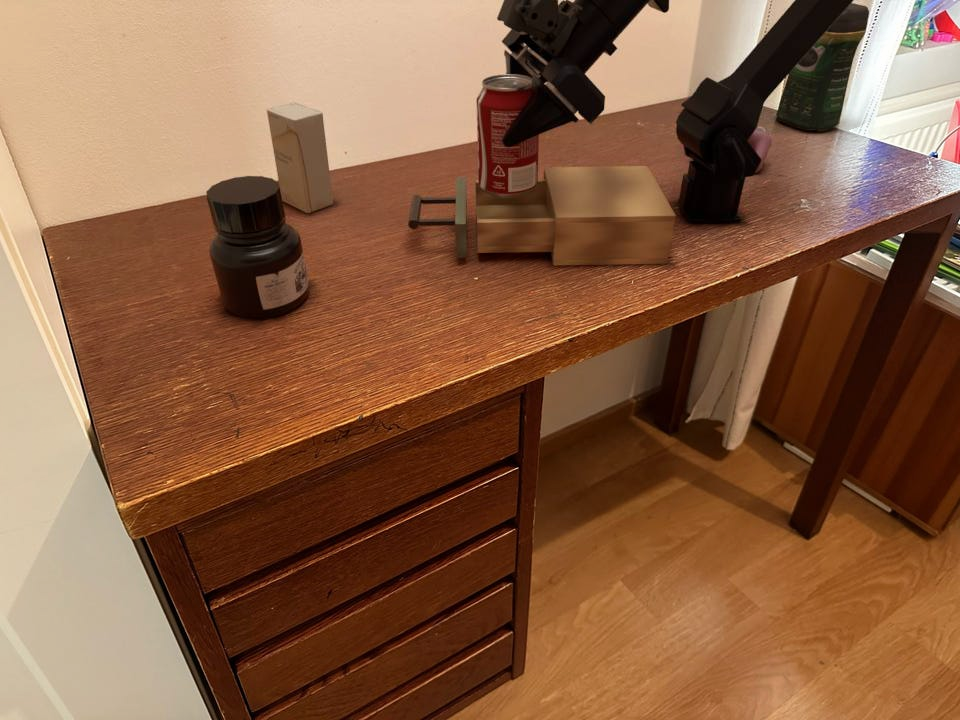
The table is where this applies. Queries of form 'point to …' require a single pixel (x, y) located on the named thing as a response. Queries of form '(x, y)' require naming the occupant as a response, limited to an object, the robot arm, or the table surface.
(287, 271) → the ink bottle
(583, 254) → the drawer unit
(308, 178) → the cosmetic box
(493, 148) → the soda can
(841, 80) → the coffee jar
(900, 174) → the table surface
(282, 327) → the table surface
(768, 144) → the video game controller
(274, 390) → the table surface
